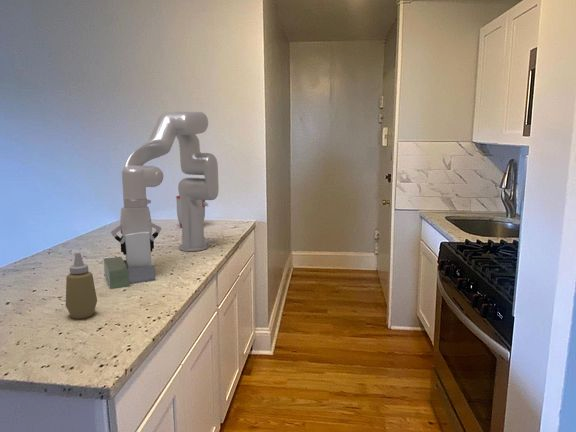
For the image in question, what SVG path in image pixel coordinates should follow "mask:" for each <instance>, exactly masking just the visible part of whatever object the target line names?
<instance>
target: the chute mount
mask: <svg viewBox="0 0 576 432" xmlns="http://www.w3.org/2000/svg"><path fill="white" fill-rule="evenodd" d="M103 268H104V276H105V277H104V278H105V279H106V282H107V283H108V288H109V289H110V290H113V289H119V288H127V287H130V285H131V284H139V283H144V282H145V283H146V282H154V281H156V269H155V265H154V264H152V265H150V266H142V267H134V268H128V267H127V264H126V259H123V258H122V256H117V257H116V256H115V257H108V258H107V257H106V258H103Z"/></svg>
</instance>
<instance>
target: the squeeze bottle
mask: <svg viewBox="0 0 576 432" xmlns="http://www.w3.org/2000/svg"><path fill="white" fill-rule="evenodd" d="M65 280H66V283H65V285H66V286H65V287H66V288H65V307H66V309H67V311H68V313H69V316H70V317H71V318H72V319H75V320H76V319H79V320H81V319H86V318H89V317H91V316H93V315H94V314H95V311H96V307H97V303H98V298H97V297H98V296H97V293H96V292H97V291H96V286H95V281H94V276H93V273H92V272H90V271H89V264H86V263H84V261H83V257H82V254H81V252H76V253H75V255H74V261H73V265H70V266H69V274H67V275H66V279H65Z"/></svg>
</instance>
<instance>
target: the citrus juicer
mask: <svg viewBox="0 0 576 432" xmlns="http://www.w3.org/2000/svg"><path fill="white" fill-rule="evenodd" d="M175 198H176V213H177V214H176V215H177V220H178V221H177V222H178V224H179V226H180V228H182V216H181V201H180V196H179V195H177V196H175ZM199 202H200V203H201V205H202V207H203V219H204V220H205V217H206V216H205V215H206V207H209V202H206V200H199Z"/></svg>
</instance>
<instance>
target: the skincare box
mask: <svg viewBox="0 0 576 432" xmlns="http://www.w3.org/2000/svg"><path fill="white" fill-rule="evenodd" d="M149 234H150V233H149V232H140V233H133V234H126V235H125V244H126V255H125V260H126V264H127V267H128V268H134V267H142V266H150V265H153V264H152V254H151V253H152V252H151V249H150V235H149Z"/></svg>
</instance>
